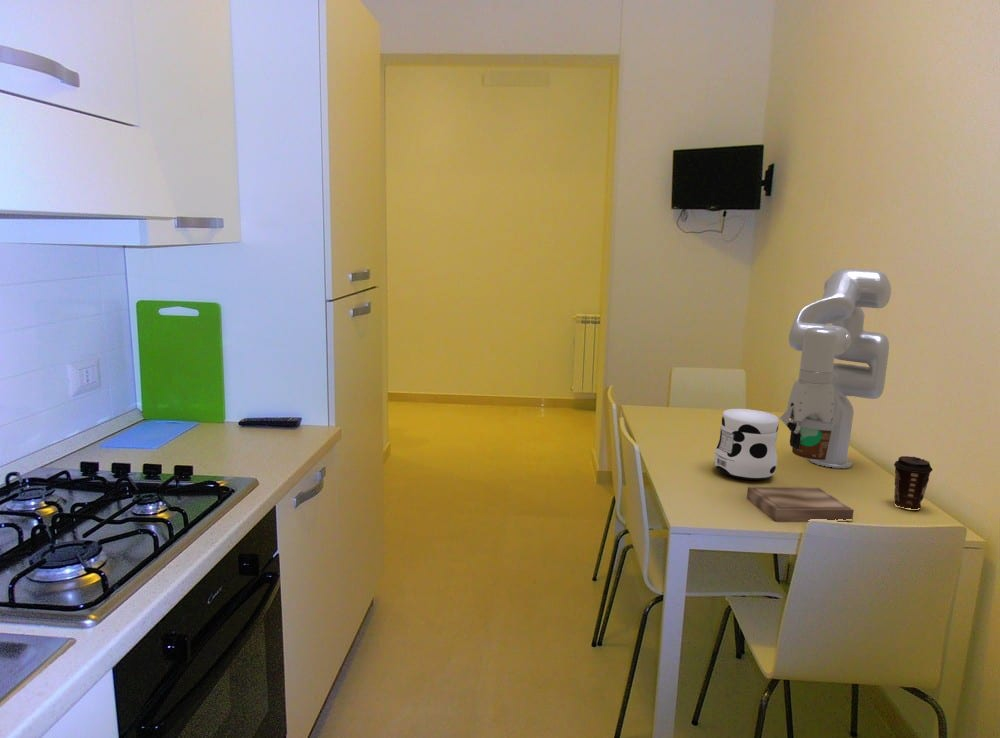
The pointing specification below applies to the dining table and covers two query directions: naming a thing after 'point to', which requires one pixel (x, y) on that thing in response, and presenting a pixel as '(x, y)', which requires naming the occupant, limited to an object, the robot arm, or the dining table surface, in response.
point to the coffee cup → (911, 481)
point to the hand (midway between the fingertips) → (805, 446)
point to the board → (798, 504)
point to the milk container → (747, 444)
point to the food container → (813, 439)
